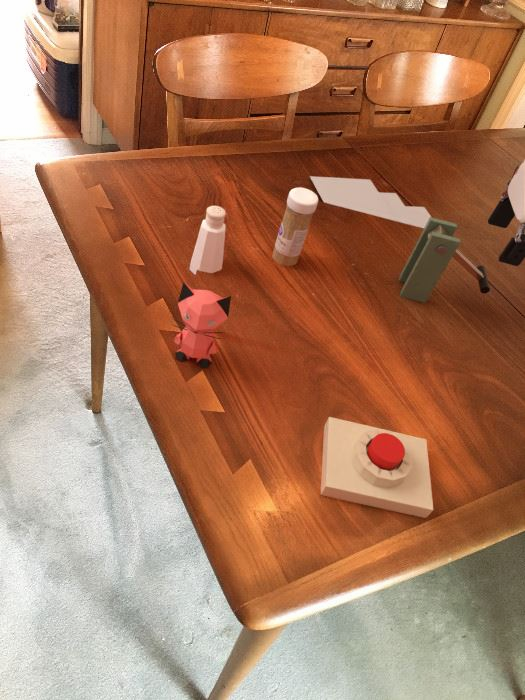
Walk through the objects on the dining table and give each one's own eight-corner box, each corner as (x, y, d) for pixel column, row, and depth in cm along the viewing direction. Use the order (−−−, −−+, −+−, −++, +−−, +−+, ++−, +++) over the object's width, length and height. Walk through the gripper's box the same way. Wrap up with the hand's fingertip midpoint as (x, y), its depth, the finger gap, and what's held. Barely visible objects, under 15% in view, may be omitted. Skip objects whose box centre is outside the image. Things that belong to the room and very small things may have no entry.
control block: (419, 448, 73) (432, 431, 70) (425, 518, 66) (440, 503, 63) (324, 426, 72) (333, 408, 69) (320, 495, 65) (330, 478, 62)
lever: (476, 275, 93) (489, 267, 91) (481, 296, 89) (494, 288, 88) (426, 228, 88) (438, 218, 86) (429, 248, 84) (442, 239, 82)
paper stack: (407, 184, 120) (409, 181, 120) (462, 259, 105) (463, 256, 105) (308, 179, 113) (309, 176, 112) (351, 259, 97) (353, 256, 97)
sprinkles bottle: (265, 257, 93) (284, 187, 83) (288, 254, 95) (310, 185, 85) (277, 275, 90) (298, 204, 81) (301, 271, 92) (324, 202, 83)
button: (398, 444, 68) (404, 437, 66) (400, 473, 65) (406, 465, 64) (367, 437, 67) (372, 429, 66) (367, 465, 65) (372, 458, 63)
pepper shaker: (212, 285, 85) (224, 226, 77) (182, 270, 86) (190, 210, 78) (228, 267, 89) (241, 209, 81) (199, 253, 90) (209, 194, 82)
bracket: (439, 287, 98) (478, 222, 88) (444, 322, 91) (487, 256, 82) (374, 270, 97) (405, 203, 87) (375, 304, 91) (409, 236, 81)
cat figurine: (162, 365, 73) (170, 298, 64) (177, 329, 78) (186, 263, 69) (214, 379, 73) (229, 315, 64) (225, 343, 78) (241, 279, 69)
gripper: (619, 180, 67) (537, 285, 79) (579, 118, 79) (513, 218, 91) (561, 163, 66) (487, 272, 79) (530, 103, 78) (470, 206, 90)
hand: (501, 243), depth 85 cm, fingers open, 9 cm apart
